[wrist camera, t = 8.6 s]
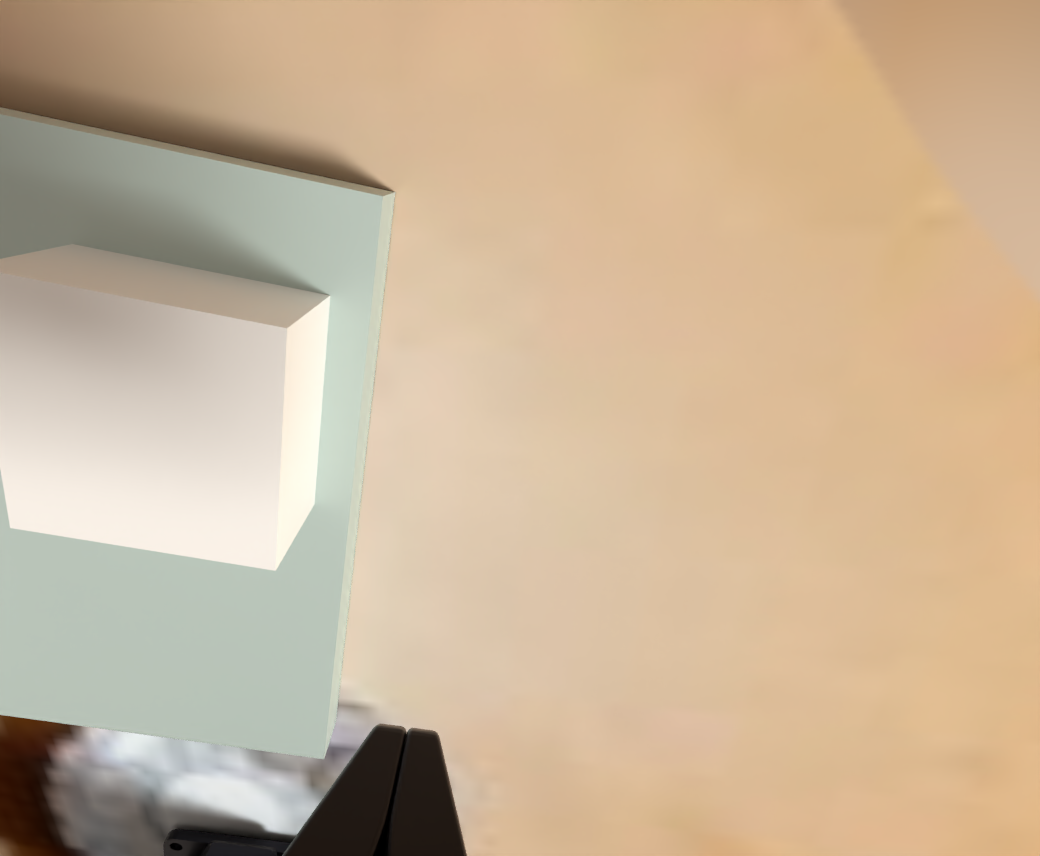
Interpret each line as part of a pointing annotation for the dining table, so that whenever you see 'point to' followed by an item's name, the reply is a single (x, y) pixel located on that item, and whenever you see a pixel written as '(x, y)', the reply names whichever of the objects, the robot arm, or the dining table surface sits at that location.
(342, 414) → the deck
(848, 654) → the dining table surface
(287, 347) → the tile
